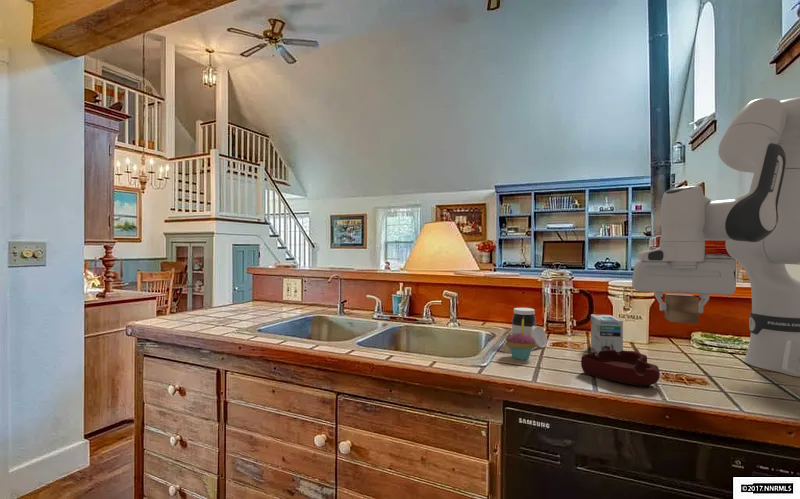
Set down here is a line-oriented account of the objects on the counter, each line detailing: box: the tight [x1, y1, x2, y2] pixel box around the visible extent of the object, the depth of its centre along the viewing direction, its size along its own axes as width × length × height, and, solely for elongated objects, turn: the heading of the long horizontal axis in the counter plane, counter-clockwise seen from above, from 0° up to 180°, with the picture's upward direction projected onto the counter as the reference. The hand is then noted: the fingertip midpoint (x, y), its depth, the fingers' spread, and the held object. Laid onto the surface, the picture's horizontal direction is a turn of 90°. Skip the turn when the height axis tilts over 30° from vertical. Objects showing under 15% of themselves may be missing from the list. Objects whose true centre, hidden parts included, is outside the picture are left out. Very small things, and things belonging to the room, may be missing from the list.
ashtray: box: [580, 349, 661, 389], centre depth 101 cm, size 18×16×5 cm
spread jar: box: [511, 307, 548, 349], centre depth 133 cm, size 12×11×12 cm
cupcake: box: [505, 316, 537, 361], centre depth 118 cm, size 9×8×12 cm
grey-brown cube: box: [664, 293, 700, 324], centre depth 95 cm, size 6×6×6 cm
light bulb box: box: [590, 314, 624, 354], centre depth 125 cm, size 11×7×11 cm, turn 168°
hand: (680, 311), depth 95 cm, fingers closed on grey-brown cube, 5 cm apart
